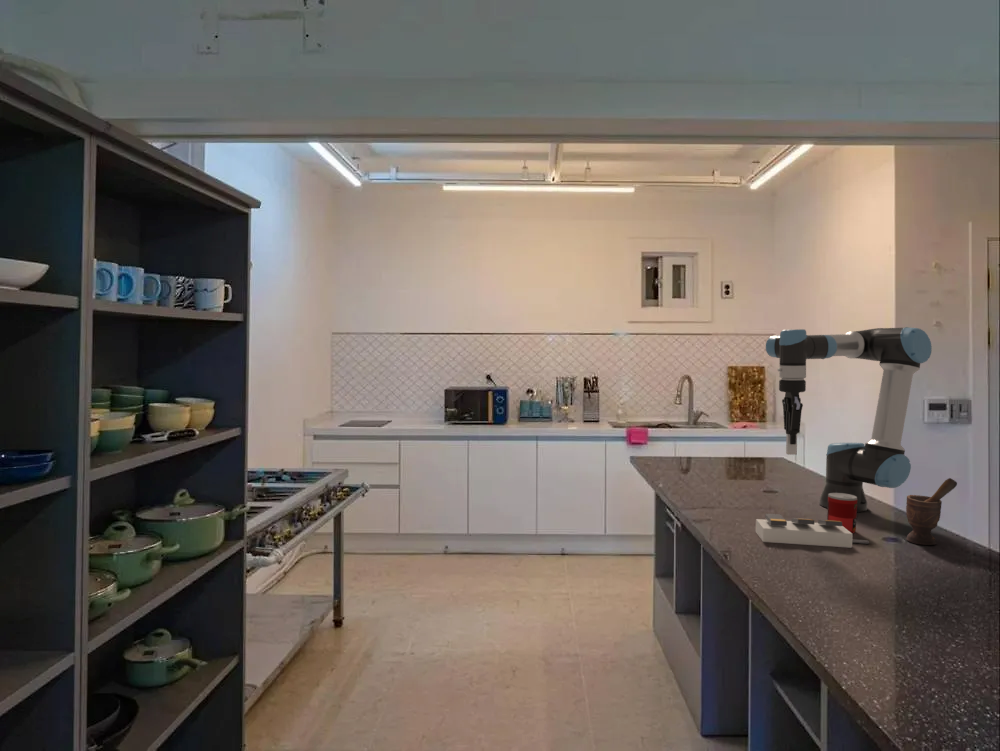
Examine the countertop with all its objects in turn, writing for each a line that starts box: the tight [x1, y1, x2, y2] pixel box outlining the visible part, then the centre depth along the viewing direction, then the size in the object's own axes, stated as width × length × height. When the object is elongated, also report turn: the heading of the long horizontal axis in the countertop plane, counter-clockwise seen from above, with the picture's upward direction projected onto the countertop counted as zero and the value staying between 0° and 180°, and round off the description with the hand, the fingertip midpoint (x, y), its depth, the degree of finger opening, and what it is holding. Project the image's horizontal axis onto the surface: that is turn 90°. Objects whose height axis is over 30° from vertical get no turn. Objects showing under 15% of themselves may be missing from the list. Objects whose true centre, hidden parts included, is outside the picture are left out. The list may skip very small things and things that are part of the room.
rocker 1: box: [764, 513, 788, 526], centre depth 189 cm, size 4×7×1 cm, turn 170°
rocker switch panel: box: [755, 518, 870, 549], centre depth 187 cm, size 30×10×4 cm, turn 80°
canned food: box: [826, 493, 858, 534], centre depth 198 cm, size 8×8×11 cm
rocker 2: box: [817, 519, 842, 526], centre depth 186 cm, size 4×7×1 cm, turn 170°
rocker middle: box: [790, 517, 815, 524], centre depth 188 cm, size 4×7×1 cm, turn 170°
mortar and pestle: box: [905, 477, 958, 546], centre depth 186 cm, size 12×9×20 cm
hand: (791, 454), depth 199 cm, fingers closed
